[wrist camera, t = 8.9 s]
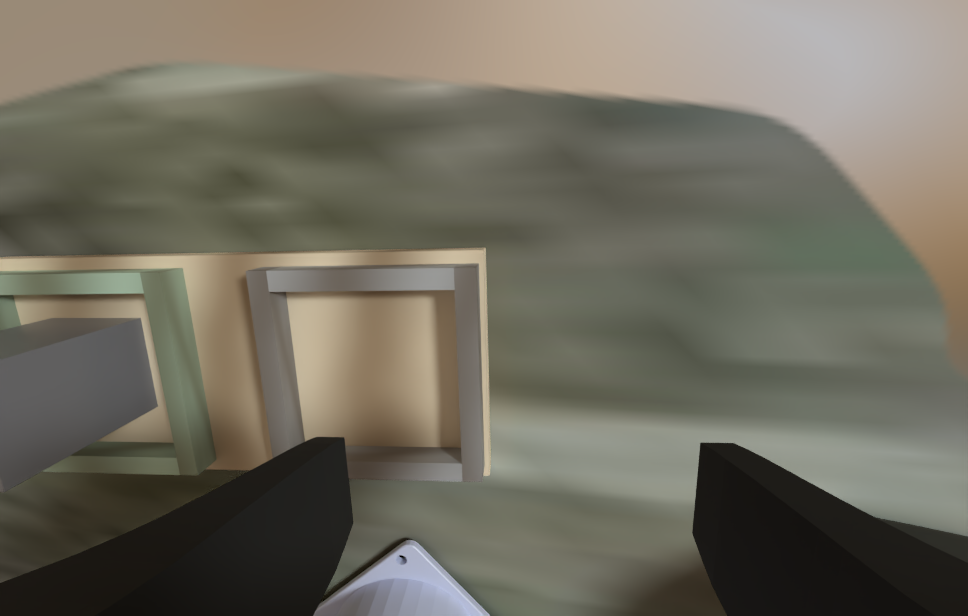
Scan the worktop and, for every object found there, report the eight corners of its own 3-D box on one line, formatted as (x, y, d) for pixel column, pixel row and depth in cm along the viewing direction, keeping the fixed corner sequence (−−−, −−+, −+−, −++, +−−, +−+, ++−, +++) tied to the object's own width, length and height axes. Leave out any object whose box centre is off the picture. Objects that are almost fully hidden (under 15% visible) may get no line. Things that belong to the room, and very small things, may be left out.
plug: (140, 317, 19) (-32, 369, 13) (157, 406, 20) (4, 492, 14) (52, 317, 19) (-155, 367, 13) (73, 405, 20) (-112, 488, 14)
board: (485, 247, 18) (481, 253, 16) (490, 462, 20) (487, 493, 18) (8, 256, 20) (-54, 262, 17) (60, 454, 22) (10, 481, 20)
